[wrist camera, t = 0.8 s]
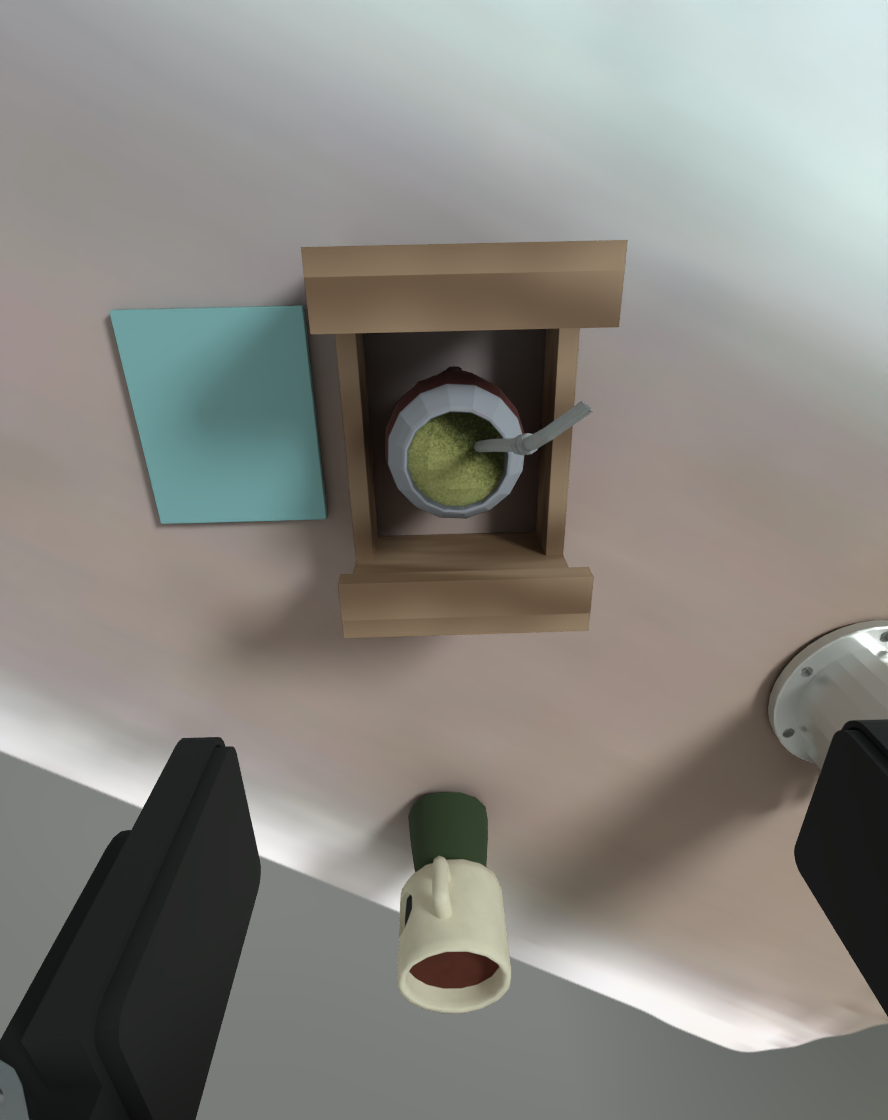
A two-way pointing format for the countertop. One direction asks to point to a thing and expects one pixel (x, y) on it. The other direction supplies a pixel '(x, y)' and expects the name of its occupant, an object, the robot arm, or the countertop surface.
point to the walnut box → (562, 309)
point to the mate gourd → (462, 443)
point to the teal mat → (224, 411)
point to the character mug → (451, 910)
